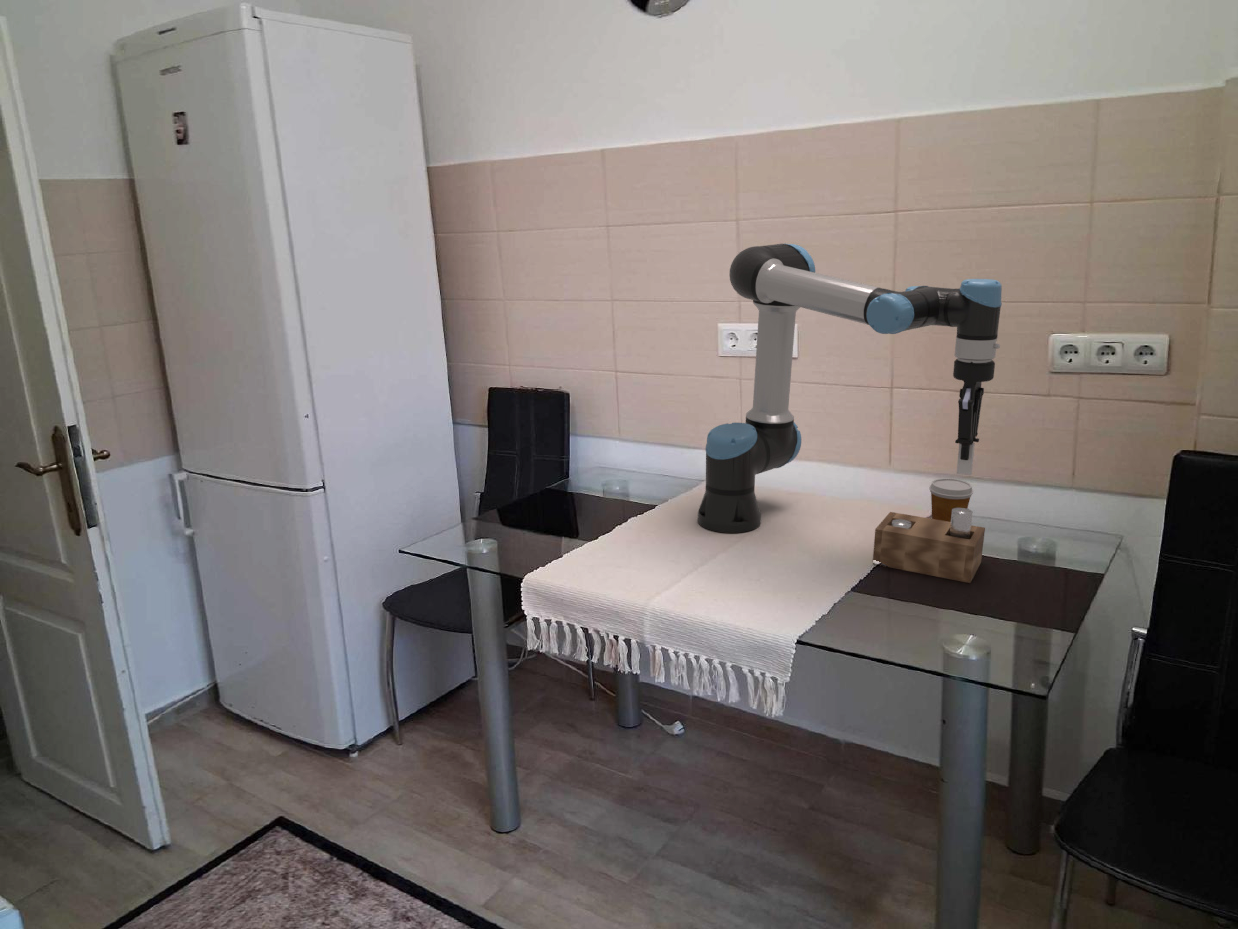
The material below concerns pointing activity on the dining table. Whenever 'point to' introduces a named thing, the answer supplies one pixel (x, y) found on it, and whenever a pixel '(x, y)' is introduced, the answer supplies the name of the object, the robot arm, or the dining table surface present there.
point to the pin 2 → (961, 523)
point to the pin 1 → (901, 523)
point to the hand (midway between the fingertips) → (964, 473)
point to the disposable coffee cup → (949, 497)
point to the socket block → (928, 548)
